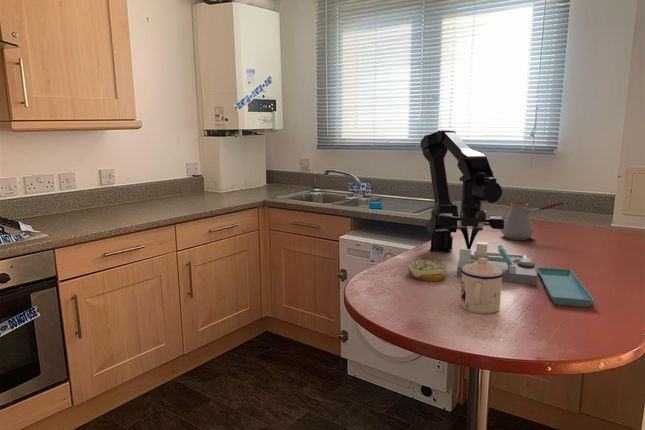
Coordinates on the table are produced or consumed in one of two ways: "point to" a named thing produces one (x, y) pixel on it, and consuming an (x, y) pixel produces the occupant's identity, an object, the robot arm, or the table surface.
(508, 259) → the paddle lever
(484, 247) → the cream slider
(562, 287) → the rectangular tray
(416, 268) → the decorated donut
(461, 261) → the grey slider
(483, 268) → the teacup with lid
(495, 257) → the panel
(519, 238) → the coffee pot
